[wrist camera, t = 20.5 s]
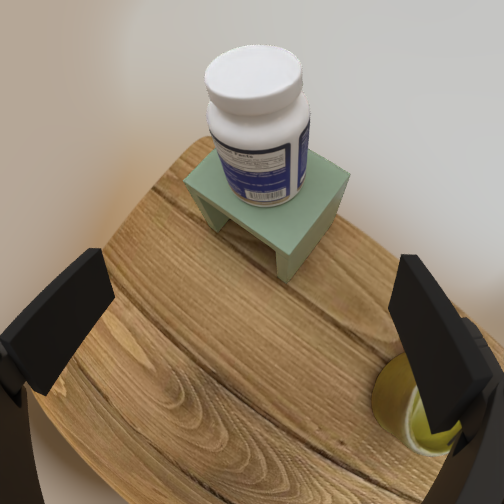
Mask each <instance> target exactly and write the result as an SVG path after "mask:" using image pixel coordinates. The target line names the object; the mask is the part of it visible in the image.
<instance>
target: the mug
mask: <svg viewBox="0 0 504 504" xmlns="http://www.w3.org/2000/svg"><path fill="white" fill-rule="evenodd" d="M371 404H372V410H373V413H374V416H375V418H376V420H377V422H378V423H379V424H380V426H381V427H382V428H383V429H385V430H386V431H388V432H389V433H391V434H393V435H394V436H395V437H396V438H398V439H399V440H400V441H401V442H402V443H403V444H404V445H405V446H407V447H408V448H409V449H411V450H412V451H413V452H415V453H417V454H420V455H424V456H429V457H436V456H442V455H445V454H448V453H449V452H450V449H451V447H452V445H453V443H454V442H453V443H452V444H451V445H450V446H448V445H447V444H448V442H449V441H450V440H451V439H452V438H453V437H454V436H455V435H456V433H457V432H458V431H459V430H460V429H461V428H462V427H461V423H460V420H459V421H458V422H457V423H456V424H455V426H454V427H453V428H452V429H451V430H449V431H445V432H441V433H437V434H433V435H431V432H430V428H429V424H428V421H427V417H426V414H425V410H424V407H423V404H422V400H421V397H420V394H419V391H418V388H417V385H416V382H415V379H414V376H413V373H412V370H411V367H410V364H409V361H408V358H407V356H406V353H402V354H400V355H399V356H397V357H395V358H394V359H392V360H391V361H390V362H389V363H388V364H387V365H386V366H385V367H384V369H383V370H382V371H381V373H380V374H379V376H378V378H377V380H376V382H375V386H374V389H373V392H372V399H371Z"/></svg>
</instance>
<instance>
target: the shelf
mask: <svg viewBox="0 0 504 504" xmlns="http://www.w3.org/2000/svg"><path fill="white" fill-rule="evenodd" d="M349 177H350V173H348V172H346V171H345V170H343V169H342V168H340V167H338V166H337V165H335V164H334V163H332V162H330V161H328V160H327V159H325V158H324V157H322V156H320V155H318V154H317V153H315V152H313V151H311V150H310V149H308V153H307V167H306V176H305V181H304V183H303V186H302V188H301V189H300V191H299V192H298V193H297V194H296V195H295V196H294V197H293V198H292V199H290V200H289V201H287V202H285V203H283V204H280V205H277V206H272V207H258V206H254V205H250V204H248V203H246V202H244V201H242V200H241V199H239V198H238V197H237V196H236V195H235V194H234V193H233V191H232V190H231V188H230V186H229V184H228V181H227V179H226V176H225V173H224V170H223V167H222V164H221V161H220V158H219V156H218V153H217V150H216V148H215V149H214V150H213V151H212V152H211V153H210V154H209V155H208V156H207V157H206V158H205V159H204V160H203V161H202V162H201V163H200V164H199V165H198V166H197V167H196V168H195V169H194V170H193V171H192V172H191V173H190V174H189V175H188V176H187V177H186V178H185V179H184V180H183V182H184V183H185V185H186V187H187V189H188V191H189V192H190V194H191V196H192V198H193V199H194V201H195V203H196V204H197V206H198V208H199V209H200V211H201V213H202V215H203V216H204V218H205V220H206V221H207V223H208V225H209V226H210V227H211V228H212V229H213V230H215V231H216V232H219V231H220V229H221V228H222V227H223V226H224V225H225V224H226V222H227V221H228V220H229V219H232V220H233V221H234V222H236V223H237V224H239V225H240V226H241V227H243V228H244V229H246V230H247V231H248V232H250V233H251V234H253V235H254V236H255V237H257V238H258V239H260V240H261V241H262V242H264V243H265V244H267V245H268V246H269V247H271V248H272V249H273V250H275V251H276V264H277V277H278V278H279V279H281V280H282V281H283V282H285V283H286V284H287V283H288V282H289V281H290V279H291V278H292V277H293V276H294V274H295V273H296V272H297V270H298V269H299V268H300V266H301V265H302V264H303V262H304V261H305V260H306V258H307V257H308V256H309V254H310V253H311V252H312V250H313V249H314V248H315V246H316V245H317V244H318V242H319V241H320V240H321V238H322V237H323V236H324V234H325V233H326V231H327V230H328V229H329V227H330V226H331V225H332V223H333V221H334V218H335V216H336V213H337V210H338V207H339V205H340V202H341V199H342V197H343V194H344V191H345V189H346V186H347V183H348V180H349Z"/></svg>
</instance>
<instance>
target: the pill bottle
mask: <svg viewBox="0 0 504 504" xmlns="http://www.w3.org/2000/svg"><path fill="white" fill-rule="evenodd" d="M204 81H205V84H206V88H207V91H208V94H209V97H210V102H209V104H208V108H207V123H208V126H209V130H210V133H211V136H212V139H213V142H214V144H215V147H216V150H217V153H218V156H219V158H220V161H221V164H222V167H223V170H224V173H225V176H226V179H227V181H228V184H229V186H230V188H231V190H232V191H233V193H234V194H235V195H236V196H237V197H238V198H239V199H241V200H242V201H244V202H246V203H248V204H250V205H254V206H258V207H272V206H277V205H280V204H283V203H285V202H287V201H289V200H290V199H292V198H293V197H294V196H295V195H296V194H297V193H298V192H299V191H300V189H301V188H302V186H303V183H304V181H305V176H306V167H307V153H308V141H309V127H310V106H309V102H308V99H307V97H306V95H305V94H304V92H303V91H302V86H303V81H302V66H301V63H300V61H299V60H298V58H297V57H296V56H295V55H294V54H292V53H291V52H289V51H287V50H285V49H283V48H280V47H276V46H270V45H249V46H243V47H238V48H235V49H232V50H230V51H227V52H225V53H223V54H222V55H220V56H218V57H217V58H215V59H214V60H213V61H212V62H211V63H210V64H209V66H208V67H207V69H206V71H205V75H204Z"/></svg>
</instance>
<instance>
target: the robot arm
mask: <svg viewBox="0 0 504 504" xmlns="http://www.w3.org/2000/svg"><path fill="white" fill-rule="evenodd" d="M114 298H115V295H114V292H113V288H112V285H111V282H110V279H109V275H108V272H107V268H106V265H105V261H104V258H103V254H102V250H101V248H89V249H87V250H86V251H85V252H84V253H83V254H82V255H80V256H79V257H78V258H77V259H76V260H75V261H74V262H73V263H71V264H70V266H68V267H67V268H66V269H65V270H64V271H63V272H62V273H61V274H59V276H57V277H56V278H55V279H54V280H53V281H52V282H51V283H50V284H49V285H48V286H47V287H46V288H45V289H44V290H43V291H42V292H41V293H40V294H39V295H38V296H37V297H36V298H35V299H34V300H33V301H32V302H31V303H30V304H29V305H28V306H27V307H26V308H25V309H24V310H23V311H22V312H21V313H20V314H19V315H18V316H17V318H15V320H14V321H13V322H12V323H11V324H10V325H9V326H8V327H7V328H6V329H5V331H4V332H3V333H2V334H1V335H0V504H45V503H44V499H43V496H42V492H41V488H40V484H39V480H38V475H37V471H36V466H35V460H34V455H33V449H32V442H31V435H30V427H29V416H28V403H27V391H26V388H25V387H24V386H23V384H24V383H25V381H27V382H28V384H29V385H30V386H31V388H32V389H33V390H34V391H35V392H37V393H40V394H42V395H44V396H47V394H48V392H49V391H50V389H51V388H52V386H53V385H54V383H55V381H56V380H57V378H58V377H59V375H60V374H61V372H62V371H63V369H64V368H65V366H66V365H67V363H68V362H69V360H70V359H71V357H72V356H73V355H74V353H75V352H76V350H77V349H78V347H79V346H80V345H81V343H82V342H83V340H84V339H85V337H86V336H87V335H88V333H89V332H90V331H91V329H92V328H93V326H94V325H95V324H96V322H97V321H98V320H99V318H100V317H101V316H102V314H103V313H104V312H105V310H106V309H107V308H108V306H109V305H110V304H111V302H112V301H113V300H114ZM388 310H389V312H390V315H391V317H392V319H393V322H394V324H395V327H396V329H397V332H398V334H399V337H400V340H401V342H402V345H403V348H404V350H405V353H406V356H407V358H408V361H409V364H410V367H411V370H412V373H413V376H414V379H415V382H416V385H417V388H418V391H419V394H420V397H421V400H422V404H423V407H424V410H425V414H426V417H427V421H428V424H429V428H430V432H431V435H433V434H437V433H441V432H445V431H449V430H451V429H452V428H453V427H454V426H455V424H456V423H457V422H458V421H459V420H460V423H461V427H462V428H461V429H460V430H459V431H458V432H457V433H456V435H455V436H454V437H453V438H452V439H451V440H450V441H449V442H448V444H447V445H448V446H450V445H451V444H452V443H453V442H454V443H453V445H452V447H451V449H450V452H449V454H448V456H447V458H446V460H445V462H444V464H443V466H442V468H441V470H440V472H439V474H438V476H437V478H436V479H435V481H434V483H433V485H432V487H431V488H430V490H429V492H428V494H427V495H426V497H425V499H424V500H423V502H422V503H421V504H504V372H503V370H502V369H501V367H500V365H499V363H498V361H497V360H496V358H495V356H494V354H493V352H492V351H491V349H490V347H488V344H487V342H486V341H485V339H484V338H483V336H482V334H481V332H480V331H479V329H478V328H477V326H476V325H475V324H474V323H472V322H471V321H470V320H469V319H468V318H467V317H465V318H461V317H460V316H459V314H458V312H457V311H456V309H455V308H454V306H453V305H452V303H451V302H450V300H449V299H448V297H447V296H446V294H445V293H444V291H443V290H442V289H441V287H440V286H439V284H438V283H437V281H436V280H435V279H434V277H433V276H432V274H431V273H430V272H429V270H428V269H427V268H426V266H425V265H424V264H423V262H422V261H421V260H420V258H419V257H418V256H417V255H407V254H401V257H400V262H399V266H398V271H397V275H396V279H395V283H394V287H393V291H392V295H391V299H390V302H389V306H388Z"/></svg>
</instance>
